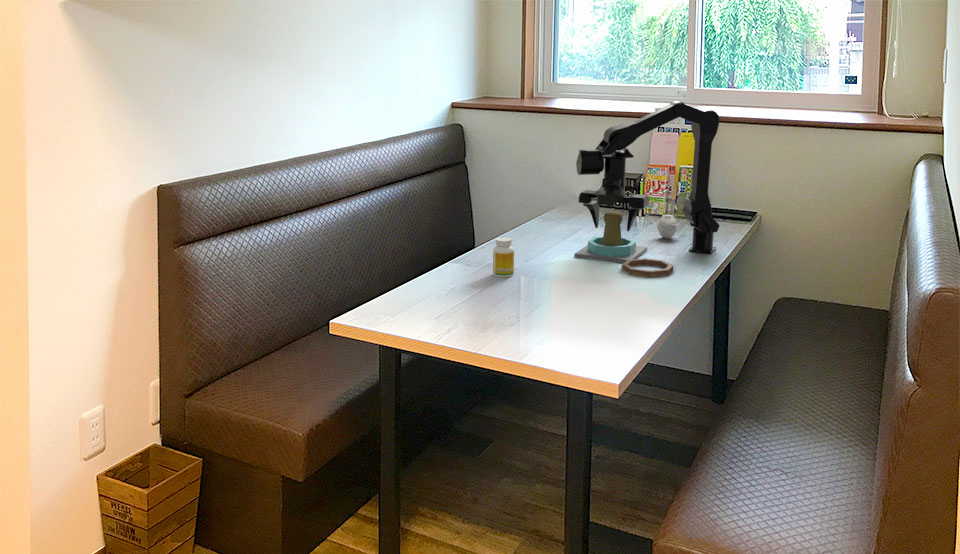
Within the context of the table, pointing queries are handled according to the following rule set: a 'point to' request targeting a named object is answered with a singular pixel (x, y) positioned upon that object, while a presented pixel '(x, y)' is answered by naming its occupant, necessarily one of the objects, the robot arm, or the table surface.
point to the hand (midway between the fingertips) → (612, 229)
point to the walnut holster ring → (647, 273)
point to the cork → (612, 229)
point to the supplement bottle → (503, 258)
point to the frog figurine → (667, 226)
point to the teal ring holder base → (611, 250)
